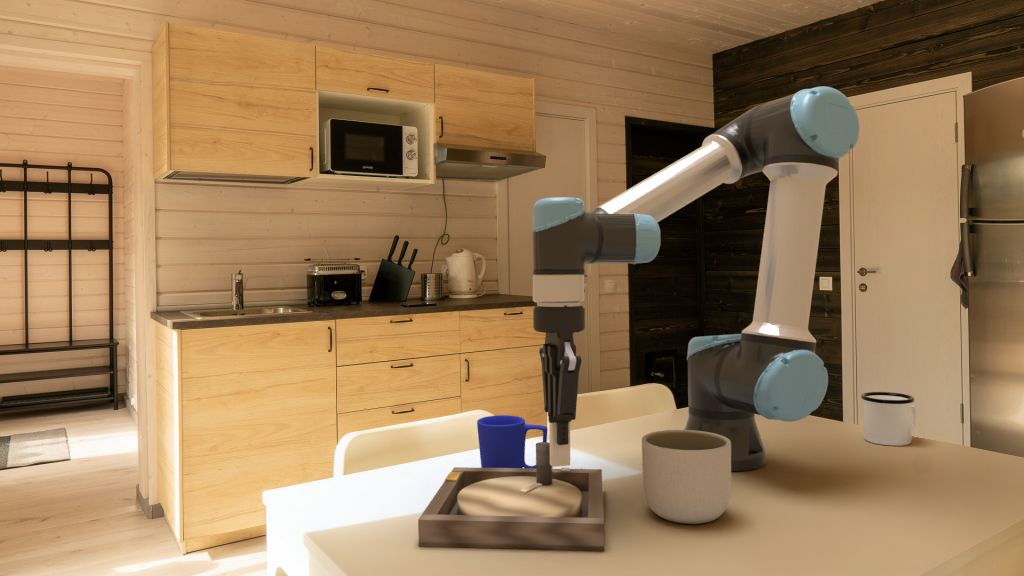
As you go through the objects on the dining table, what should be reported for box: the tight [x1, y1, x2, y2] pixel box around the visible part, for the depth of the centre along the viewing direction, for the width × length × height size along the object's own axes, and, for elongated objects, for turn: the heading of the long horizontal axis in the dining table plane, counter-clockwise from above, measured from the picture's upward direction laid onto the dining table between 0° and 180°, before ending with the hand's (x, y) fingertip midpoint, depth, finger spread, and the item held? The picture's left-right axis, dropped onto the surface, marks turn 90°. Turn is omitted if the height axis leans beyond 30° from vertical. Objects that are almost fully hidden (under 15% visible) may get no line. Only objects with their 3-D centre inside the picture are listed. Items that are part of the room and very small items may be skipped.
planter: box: [641, 429, 732, 525], centre depth 102 cm, size 12×12×11 cm
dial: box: [457, 441, 582, 518], centre depth 103 cm, size 18×18×8 cm
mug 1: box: [476, 414, 548, 468], centre depth 121 cm, size 8×12×10 cm
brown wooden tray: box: [417, 466, 605, 552], centre depth 103 cm, size 24×24×4 cm
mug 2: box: [860, 391, 917, 447], centre depth 141 cm, size 12×10×9 cm
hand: (559, 464), depth 104 cm, fingers closed
